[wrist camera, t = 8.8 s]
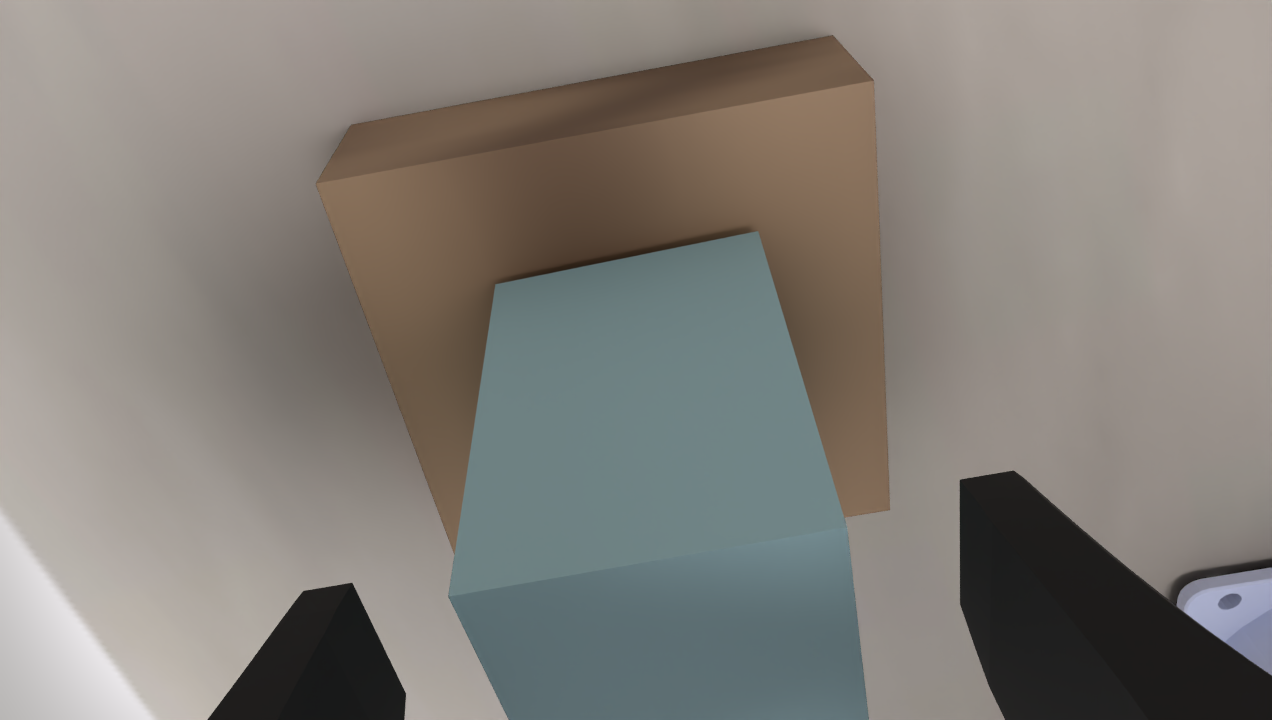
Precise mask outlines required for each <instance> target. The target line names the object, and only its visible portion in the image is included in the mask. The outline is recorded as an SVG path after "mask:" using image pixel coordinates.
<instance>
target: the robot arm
mask: <svg viewBox="0 0 1272 720" xmlns="http://www.w3.org/2000/svg"><path fill="white" fill-rule="evenodd" d="M960 605H961V608H962V611H963V614H964V617H965V619H966V622H967V625H968V628H969V631H970V634H971V637H972V640H973V643H974V646H975V649H976V651H977V654H978V657H979V660H980V662H981V665H982V668H983V671H984V673H985V676H986V679H987V682H988V684H989V687H990V689H991V691H992V693H993V695H994V697H995V699H996V702H997V704H998V706H999V708H1000V710H1001V712H1002V714H1003V716H1004V718H1005V720H1272V567H1271V568H1264V569H1258V570H1252V571H1246V572H1240V573H1234V574H1228V575H1221V576H1215V577H1209V578H1203V579H1199V580H1195V581H1192V582H1191V583H1189V584H1187V585H1186V586H1185V587H1184V588H1183V589H1182V590H1181V591H1180V594H1179V596H1178V599H1177V605H1176V606H1175V605H1174V604H1173V603H1172V602H1170V601H1169V600H1168V599H1167V598H1165V597H1164V596H1163V595H1162V594H1160V593H1159V592H1158V591H1157V590H1155V589H1154V588H1153V587H1151V586H1150V585H1149V584H1148V583H1146V582H1145V581H1144V580H1143V579H1141V578H1140V577H1139V576H1138V575H1136V574H1135V573H1134V572H1133V571H1131V570H1130V569H1129V568H1128V567H1126V566H1125V565H1124V564H1123V563H1121V562H1120V561H1119V560H1118V559H1117V558H1115V557H1114V556H1113V555H1112V554H1111V553H1109V552H1108V551H1107V550H1106V549H1105V548H1103V547H1102V546H1101V545H1100V544H1099V543H1098V542H1096V541H1095V540H1094V539H1093V538H1092V537H1090V536H1089V535H1088V534H1087V533H1086V532H1085V531H1083V530H1082V529H1081V528H1080V527H1079V526H1078V525H1076V524H1075V523H1074V522H1073V521H1072V520H1071V519H1070V518H1068V517H1067V516H1066V515H1065V514H1064V513H1063V512H1062V511H1060V510H1059V509H1058V508H1057V507H1056V506H1055V505H1054V504H1052V503H1051V502H1050V501H1049V500H1048V499H1047V498H1046V497H1045V496H1043V495H1042V494H1041V493H1040V492H1039V491H1038V490H1037V489H1036V488H1034V487H1033V486H1032V485H1031V484H1030V483H1029V482H1028V481H1027V480H1025V479H1024V478H1023V477H1022V476H1020V475H1019V474H1018V473H1016V472H1015V471H1009V472H1003V473H997V474H991V475H985V476H979V477H973V478H967V479H961V480H960ZM405 700H406V693H405V691H404V689H403V687H402V685H401V683H400V681H399V679H398V677H397V674H396V672H395V670H394V668H393V666H392V664H391V662H390V660H389V658H388V656H387V654H386V652H385V650H384V648H383V645H382V643H381V641H380V639H379V637H378V635H377V633H376V631H375V629H374V627H373V625H372V623H371V621H370V619H369V617H368V614H367V612H366V610H365V608H364V606H363V604H362V602H361V600H360V598H359V596H358V594H357V592H356V590H355V588H354V585H353V583H348V584H342V585H337V586H331V587H325V588H319V589H313V590H307V591H303V592H302V593H301V595H300V596H299V597H298V599H297V600H296V601H295V602H294V604H293V605H292V606H291V608H290V609H289V610H288V612H287V613H286V614H285V616H284V617H283V618H282V620H281V621H280V623H279V624H278V625H277V627H276V628H275V629H274V631H273V632H272V633H271V635H270V636H269V638H268V639H267V640H266V642H265V643H264V644H263V646H262V647H261V648H260V650H259V651H258V653H257V654H256V655H255V657H254V658H253V659H252V661H251V662H250V663H249V665H248V666H247V668H246V669H245V670H244V672H243V673H242V674H241V676H240V677H239V678H238V680H237V681H236V682H235V684H234V685H233V687H232V688H231V689H230V691H229V692H228V693H227V695H226V696H225V697H224V699H223V700H222V701H221V702H220V704H219V705H218V706H217V708H216V709H215V710H214V712H213V713H212V714H211V716H210V717H209V718H208V720H404V716H405Z"/></svg>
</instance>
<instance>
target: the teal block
mask: <svg viewBox="0 0 1272 720" xmlns="http://www.w3.org/2000/svg"><path fill="white" fill-rule="evenodd" d="M448 597H449V599H450V601H451V603H452V605H453V607H454V609H455V611H456V613H457V615H458V617H459V619H460V621H461V623H462V625H463V627H464V630H465V632H466V634H467V636H468V638H469V640H470V642H471V644H472V646H473V648H474V650H475V652H476V654H477V656H478V658H479V660H480V662H481V664H482V666H483V668H484V670H485V672H486V674H487V676H488V678H489V680H490V682H491V684H492V687H493V689H494V691H495V693H496V695H497V697H498V699H499V701H500V703H501V705H502V707H503V709H504V711H505V713H506V715H507V717H508V719H509V720H869V717H868V708H867V699H866V690H865V682H864V673H863V664H862V655H861V646H860V637H859V629H858V620H857V611H856V602H855V593H854V584H853V575H852V567H851V558H850V549H849V540H848V531H847V525H846V522H845V519H844V515H843V512H842V509H841V505H840V502H839V499H838V495H837V492H836V489H835V485H834V482H833V479H832V475H831V472H830V469H829V465H828V462H827V459H826V455H825V452H824V449H823V445H822V442H821V439H820V435H819V432H818V429H817V425H816V422H815V419H814V415H813V412H812V409H811V405H810V402H809V399H808V395H807V392H806V389H805V385H804V382H803V379H802V375H801V372H800V369H799V365H798V362H797V359H796V355H795V352H794V349H793V345H792V342H791V339H790V335H789V332H788V329H787V325H786V322H785V319H784V315H783V312H782V309H781V305H780V302H779V299H778V295H777V292H776V289H775V285H774V282H773V279H772V275H771V272H770V269H769V266H768V262H767V259H766V256H765V252H764V249H763V246H762V242H761V239H760V236H759V232H758V231H756V232H751V233H746V234H741V235H736V236H731V237H726V238H721V239H716V240H712V241H707V242H702V243H697V244H692V245H687V246H682V247H677V248H672V249H667V250H662V251H657V252H652V253H648V254H643V255H638V256H633V257H628V258H623V259H618V260H613V261H608V262H603V263H598V264H593V265H588V266H584V267H579V268H574V269H569V270H564V271H559V272H554V273H549V274H544V275H539V276H534V277H529V278H524V279H520V280H515V281H510V282H505V283H500V284H495V290H494V297H493V304H492V310H491V317H490V323H489V330H488V337H487V343H486V350H485V357H484V363H483V370H482V377H481V383H480V390H479V396H478V403H477V410H476V416H475V423H474V430H473V436H472V443H471V450H470V456H469V463H468V469H467V476H466V483H465V489H464V496H463V503H462V509H461V516H460V522H459V529H458V536H457V542H456V549H455V556H454V562H453V569H452V576H451V582H450V589H449V595H448Z"/></svg>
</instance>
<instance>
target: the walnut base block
mask: <svg viewBox="0 0 1272 720" xmlns="http://www.w3.org/2000/svg"><path fill="white" fill-rule="evenodd" d="M316 186H317V189H318V192H319V194H320V197H321V200H322V202H323V205H324V208H325V210H326V213H327V216H328V218H329V221H330V224H331V226H332V229H333V232H334V234H335V237H336V240H337V242H338V245H339V248H340V250H341V253H342V256H343V258H344V261H345V264H346V266H347V269H348V272H349V274H350V277H351V280H352V282H353V285H354V288H355V290H356V293H357V296H358V298H359V301H360V304H361V306H362V309H363V312H364V314H365V317H366V320H367V322H368V325H369V328H370V330H371V333H372V336H373V338H374V341H375V344H376V346H377V349H378V352H379V354H380V357H381V360H382V362H383V365H384V368H385V370H386V373H387V376H388V378H389V381H390V384H391V386H392V389H393V392H394V395H395V397H396V400H397V403H398V405H399V408H400V411H401V413H402V416H403V419H404V421H405V424H406V427H407V429H408V432H409V435H410V437H411V440H412V443H413V445H414V448H415V451H416V453H417V456H418V459H419V461H420V464H421V467H422V469H423V472H424V475H425V477H426V480H427V483H428V485H429V488H430V491H431V493H432V496H433V499H434V501H435V504H436V507H437V509H438V512H439V515H440V517H441V520H442V523H443V525H444V528H445V531H446V533H447V536H448V539H449V541H450V544H451V547H452V549H453V552H454V555H455V549H456V542H457V536H458V529H459V522H460V516H461V509H462V503H463V496H464V489H465V483H466V476H467V469H468V463H469V456H470V450H471V443H472V436H473V430H474V423H475V416H476V410H477V403H478V396H479V390H480V383H481V377H482V370H483V363H484V357H485V350H486V343H487V337H488V330H489V323H490V317H491V310H492V304H493V297H494V290H495V284H500V283H505V282H510V281H515V280H520V279H524V278H529V277H534V276H539V275H544V274H549V273H554V272H559V271H564V270H569V269H574V268H579V267H584V266H588V265H593V264H598V263H603V262H608V261H613V260H618V259H623V258H628V257H633V256H638V255H643V254H648V253H652V252H657V251H662V250H667V249H672V248H677V247H682V246H687V245H692V244H697V243H702V242H707V241H712V240H716V239H721V238H726V237H731V236H736V235H741V234H746V233H751V232H756V231H758V232H759V236H760V239H761V242H762V246H763V249H764V252H765V256H766V259H767V262H768V266H769V269H770V272H771V275H772V279H773V282H774V285H775V289H776V292H777V295H778V299H779V302H780V305H781V309H782V312H783V315H784V319H785V322H786V325H787V329H788V332H789V335H790V339H791V342H792V345H793V349H794V352H795V355H796V359H797V362H798V365H799V369H800V372H801V375H802V379H803V382H804V385H805V389H806V392H807V395H808V399H809V402H810V405H811V409H812V412H813V415H814V419H815V422H816V425H817V429H818V432H819V435H820V439H821V442H822V445H823V449H824V452H825V455H826V459H827V462H828V465H829V469H830V472H831V475H832V479H833V482H834V485H835V489H836V492H837V495H838V499H839V502H840V505H841V509H842V512H843V515H844V517H850V516H856V515H862V514H868V513H875V512H881V511H887V510H890V497H889V470H888V444H887V417H886V391H885V364H884V338H883V311H882V285H881V258H880V231H879V205H878V178H877V152H876V125H875V99H874V80H873V79H872V78H871V77H870V76H869V75H868V74H867V72H866V71H865V70H864V69H863V68H862V67H861V66H860V65H859V64H858V63H857V61H856V60H855V59H854V58H853V57H852V56H851V55H850V54H849V53H848V51H847V50H846V49H845V48H844V47H843V46H842V45H841V44H840V43H839V42H838V40H837V39H836V38H835V37H834V36H833V35H832V36H827V37H821V38H816V39H811V40H805V41H800V42H795V43H789V44H784V45H778V46H773V47H768V48H762V49H757V50H752V51H746V52H741V53H735V54H730V55H725V56H719V57H714V58H708V59H703V60H698V61H692V62H687V63H682V64H676V65H671V66H665V67H660V68H655V69H649V70H644V71H639V72H633V73H628V74H622V75H617V76H612V77H606V78H601V79H596V80H590V81H585V82H579V83H574V84H569V85H563V86H558V87H552V88H547V89H542V90H536V91H531V92H526V93H520V94H515V95H509V96H504V97H499V98H493V99H488V100H483V101H477V102H472V103H466V104H461V105H456V106H450V107H445V108H440V109H434V110H429V111H423V112H418V113H413V114H407V115H402V116H396V117H391V118H386V119H380V120H375V121H370V122H364V123H359V124H353V125H351V126H350V128H349V129H348V131H347V133H346V134H345V136H344V138H343V139H342V141H341V143H340V144H339V146H338V148H337V149H336V151H335V153H334V154H333V156H332V157H331V159H330V161H329V162H328V164H327V166H326V167H325V169H324V171H323V172H322V174H321V176H320V177H319V179H318V181H317V182H316Z"/></svg>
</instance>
